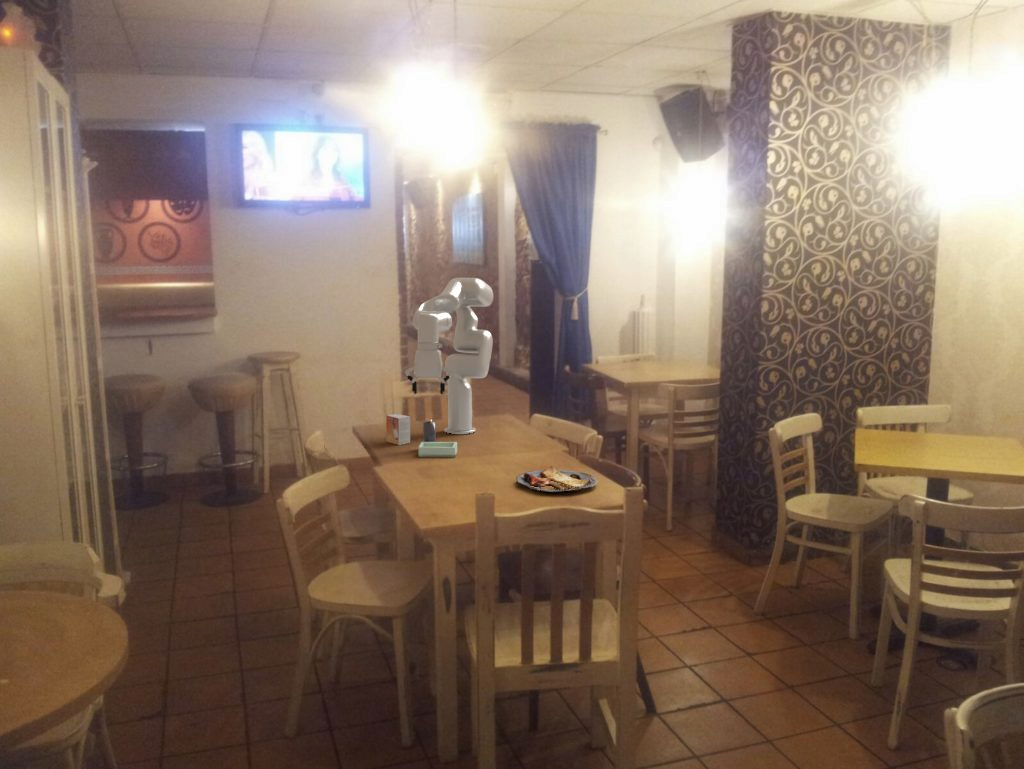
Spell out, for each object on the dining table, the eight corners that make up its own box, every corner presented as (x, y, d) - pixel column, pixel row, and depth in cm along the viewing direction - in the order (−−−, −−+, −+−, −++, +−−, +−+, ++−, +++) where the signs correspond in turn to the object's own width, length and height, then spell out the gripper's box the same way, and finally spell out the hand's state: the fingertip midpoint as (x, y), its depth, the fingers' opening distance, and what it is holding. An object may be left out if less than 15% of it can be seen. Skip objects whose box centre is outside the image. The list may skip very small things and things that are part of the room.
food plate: (502, 481, 279) (502, 471, 278) (558, 471, 293) (559, 461, 292) (553, 501, 259) (553, 490, 259) (610, 490, 273) (611, 479, 273)
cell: (424, 447, 328) (423, 418, 327) (436, 447, 328) (435, 418, 327) (422, 450, 324) (422, 421, 322) (435, 450, 324) (434, 421, 322)
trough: (421, 451, 322) (421, 441, 321) (457, 451, 321) (457, 442, 321) (418, 457, 313) (418, 447, 312) (455, 457, 313) (455, 447, 312)
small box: (386, 442, 337) (385, 415, 335) (398, 440, 341) (397, 413, 339) (398, 445, 331) (398, 418, 330) (410, 443, 335) (410, 416, 334)
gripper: (452, 346, 324) (453, 392, 326) (405, 345, 324) (406, 391, 326) (451, 348, 316) (451, 395, 319) (403, 347, 317) (403, 395, 319)
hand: (428, 393), depth 323 cm, fingers open, 9 cm apart
